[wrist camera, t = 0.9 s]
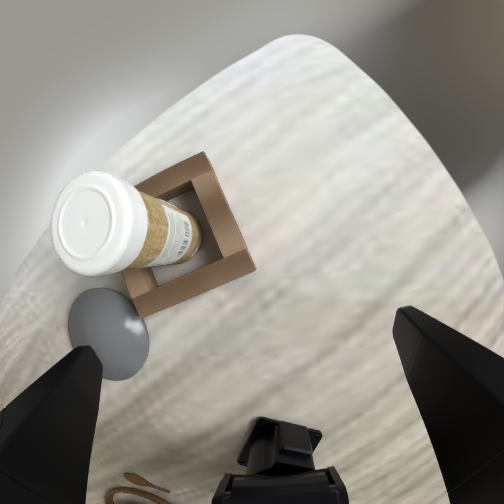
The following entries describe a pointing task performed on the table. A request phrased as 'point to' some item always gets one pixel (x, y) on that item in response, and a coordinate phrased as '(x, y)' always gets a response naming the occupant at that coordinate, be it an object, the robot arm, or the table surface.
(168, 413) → the table surface
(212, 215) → the square wooden frame
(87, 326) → the coaster
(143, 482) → the place setting
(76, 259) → the sprinkles bottle
